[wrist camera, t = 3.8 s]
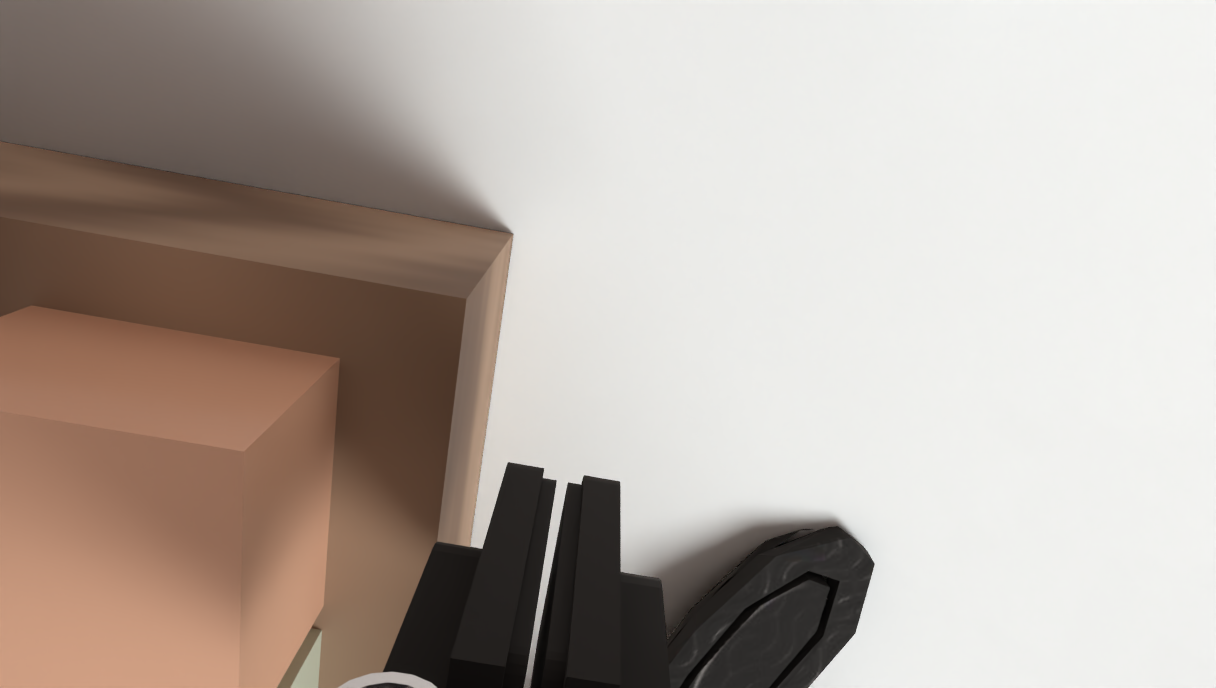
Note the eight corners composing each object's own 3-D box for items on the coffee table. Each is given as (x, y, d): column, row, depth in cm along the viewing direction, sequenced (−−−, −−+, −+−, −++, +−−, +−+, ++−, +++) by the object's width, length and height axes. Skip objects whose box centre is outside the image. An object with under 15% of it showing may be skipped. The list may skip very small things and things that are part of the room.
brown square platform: (513, 233, 16) (466, 298, 11) (452, 671, 19) (397, 862, 15) (-80, 126, 15) (-402, 145, 10) (-25, 597, 19) (-242, 770, 14)
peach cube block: (340, 358, 11) (243, 451, 8) (323, 606, 13) (237, 756, 10) (31, 305, 11) (-174, 382, 8) (51, 563, 12) (-118, 705, 10)
